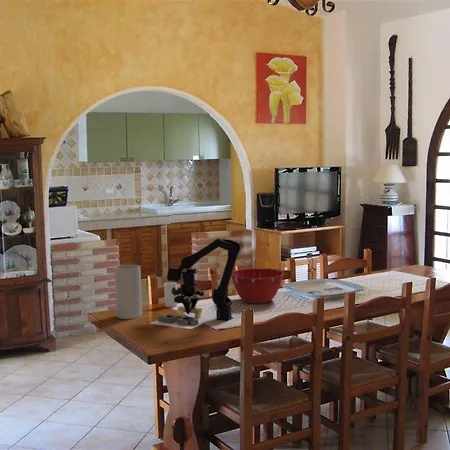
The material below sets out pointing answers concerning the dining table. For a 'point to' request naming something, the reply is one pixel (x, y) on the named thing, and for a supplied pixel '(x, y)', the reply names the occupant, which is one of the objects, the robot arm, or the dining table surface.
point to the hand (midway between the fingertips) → (189, 313)
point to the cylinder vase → (128, 291)
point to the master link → (192, 310)
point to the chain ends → (178, 320)
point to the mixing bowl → (257, 284)
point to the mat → (176, 324)
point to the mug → (170, 294)
